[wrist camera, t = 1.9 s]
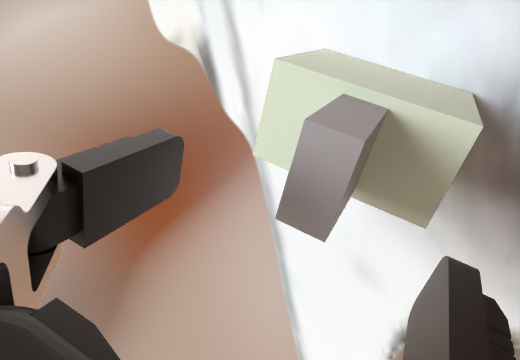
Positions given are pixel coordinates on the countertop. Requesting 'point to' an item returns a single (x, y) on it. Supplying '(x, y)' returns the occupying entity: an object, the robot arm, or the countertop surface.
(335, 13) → the countertop surface
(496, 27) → the countertop surface
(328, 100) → the tab block
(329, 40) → the countertop surface
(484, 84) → the countertop surface
